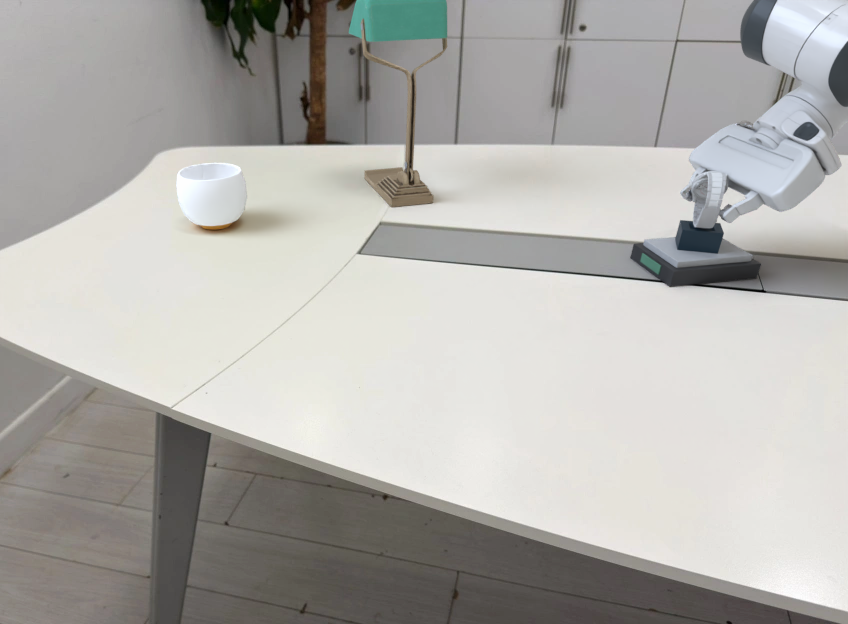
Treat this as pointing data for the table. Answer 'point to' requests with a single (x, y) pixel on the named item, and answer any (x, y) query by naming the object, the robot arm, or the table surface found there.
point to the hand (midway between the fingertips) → (703, 207)
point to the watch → (704, 214)
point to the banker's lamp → (407, 20)
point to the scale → (694, 263)
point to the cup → (212, 194)
